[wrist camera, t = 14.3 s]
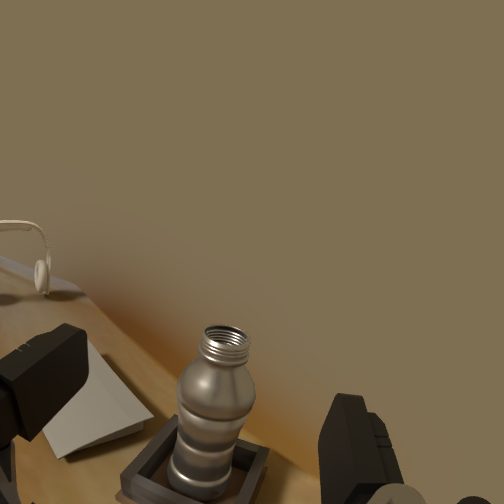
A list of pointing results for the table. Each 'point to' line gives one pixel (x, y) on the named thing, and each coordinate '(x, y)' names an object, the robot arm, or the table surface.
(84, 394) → the white router
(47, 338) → the robot arm
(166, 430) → the open square tray
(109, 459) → the table surface
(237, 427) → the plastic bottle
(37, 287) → the headset
